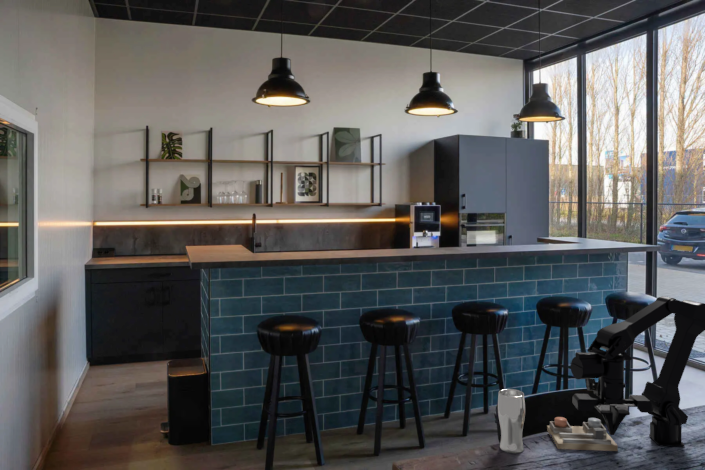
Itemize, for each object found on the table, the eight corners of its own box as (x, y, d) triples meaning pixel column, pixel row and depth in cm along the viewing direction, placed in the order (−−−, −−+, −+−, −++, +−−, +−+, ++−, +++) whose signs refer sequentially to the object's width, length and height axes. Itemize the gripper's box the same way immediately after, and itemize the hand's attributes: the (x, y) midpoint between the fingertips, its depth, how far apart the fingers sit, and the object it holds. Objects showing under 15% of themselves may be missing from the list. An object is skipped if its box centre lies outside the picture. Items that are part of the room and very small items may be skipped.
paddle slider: (601, 438, 143) (601, 427, 143) (603, 441, 141) (603, 431, 141) (593, 438, 144) (593, 427, 144) (595, 441, 142) (595, 430, 142)
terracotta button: (565, 422, 151) (565, 417, 151) (568, 427, 148) (568, 421, 148) (553, 422, 152) (553, 416, 152) (556, 426, 149) (556, 421, 149)
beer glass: (528, 454, 139) (528, 397, 138) (501, 454, 139) (501, 397, 139) (520, 442, 146) (520, 388, 145) (495, 442, 146) (494, 388, 146)
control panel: (602, 432, 152) (602, 421, 151) (617, 451, 140) (617, 439, 140) (547, 430, 153) (547, 420, 153) (558, 449, 142) (557, 437, 141)
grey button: (598, 423, 150) (598, 417, 150) (602, 428, 147) (602, 422, 147) (586, 423, 151) (586, 417, 151) (590, 427, 147) (590, 422, 147)
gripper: (636, 368, 148) (636, 423, 149) (566, 367, 151) (566, 421, 151) (654, 381, 137) (653, 440, 138) (578, 379, 140) (578, 438, 140)
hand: (611, 434), depth 142 cm, fingers closed
